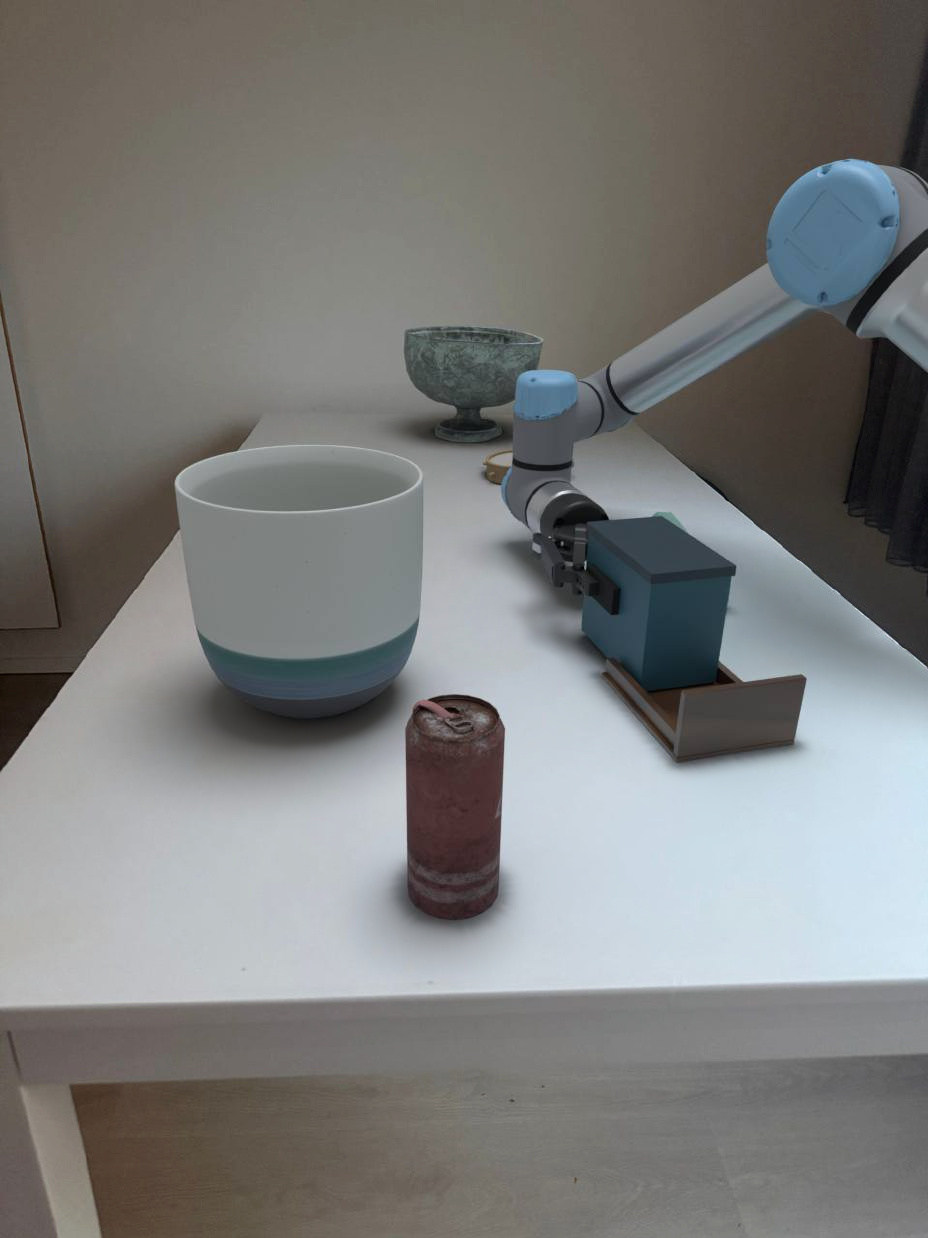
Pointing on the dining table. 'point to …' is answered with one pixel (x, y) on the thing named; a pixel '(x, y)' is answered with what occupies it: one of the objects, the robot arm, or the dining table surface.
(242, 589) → the planter
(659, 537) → the storage container
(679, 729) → the wooden drawer
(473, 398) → the decorative bowl
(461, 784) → the can
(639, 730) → the dining table surface
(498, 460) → the alarm clock
